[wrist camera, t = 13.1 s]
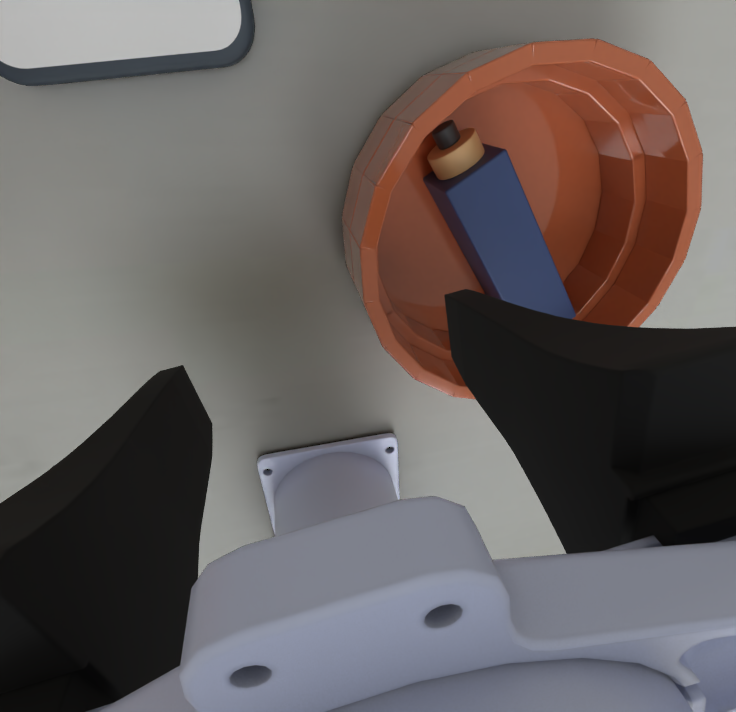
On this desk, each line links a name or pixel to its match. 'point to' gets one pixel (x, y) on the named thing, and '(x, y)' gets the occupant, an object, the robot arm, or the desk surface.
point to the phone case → (119, 38)
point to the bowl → (528, 189)
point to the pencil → (493, 221)
